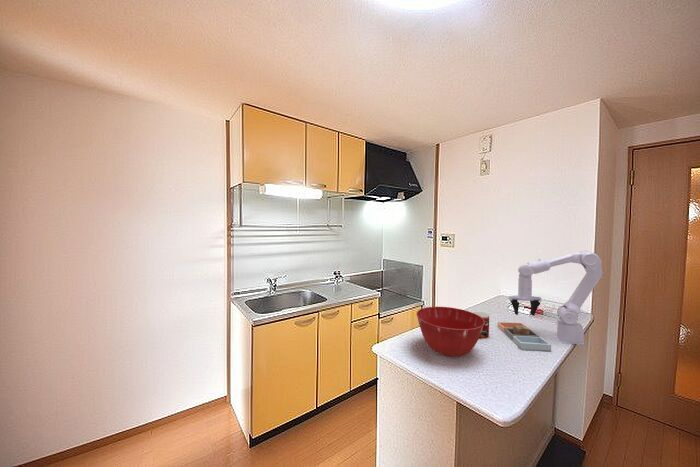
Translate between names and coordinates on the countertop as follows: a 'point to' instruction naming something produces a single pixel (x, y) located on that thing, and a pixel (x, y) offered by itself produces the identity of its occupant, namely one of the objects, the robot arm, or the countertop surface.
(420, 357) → the countertop surface
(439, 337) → the mixing bowl
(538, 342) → the dish blue
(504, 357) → the countertop surface
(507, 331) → the dish charcoal
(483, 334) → the canned food
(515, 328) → the letter cube
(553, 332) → the countertop surface
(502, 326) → the dish terracotta
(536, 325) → the countertop surface
